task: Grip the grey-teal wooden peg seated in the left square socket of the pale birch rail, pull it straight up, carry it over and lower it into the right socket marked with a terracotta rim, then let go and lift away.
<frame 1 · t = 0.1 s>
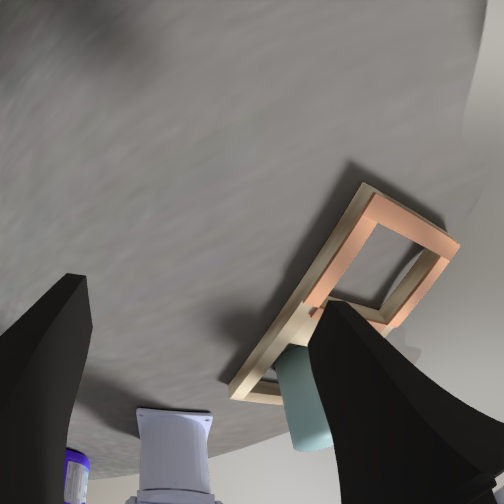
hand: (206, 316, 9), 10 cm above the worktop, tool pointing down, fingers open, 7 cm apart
bottle: (73, 454, 37), on the worktop
socket rail: (334, 319, 25), on the worktop
peg: (299, 361, 27), resting in socket rail
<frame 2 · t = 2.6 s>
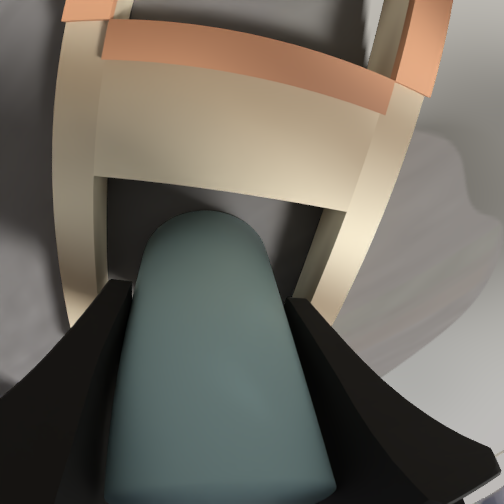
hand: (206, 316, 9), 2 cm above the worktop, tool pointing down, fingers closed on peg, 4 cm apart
socket rail: (236, 108, 8), on the worktop
peg: (205, 267, 11), resting in socket rail, touching gripper
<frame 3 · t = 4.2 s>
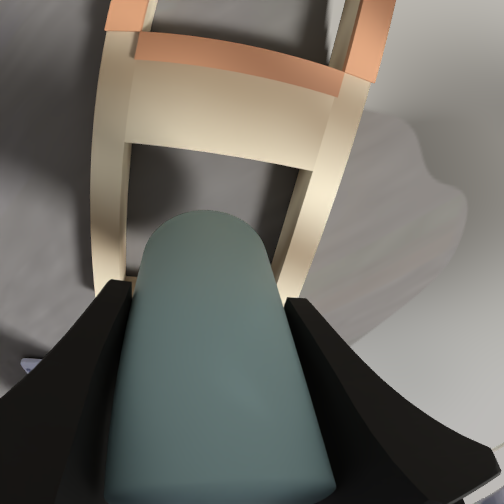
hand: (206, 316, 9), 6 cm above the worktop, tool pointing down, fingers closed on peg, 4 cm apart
socket rail: (229, 96, 11), on the worktop
peg: (204, 267, 11), point 3 cm above the worktop, touching gripper
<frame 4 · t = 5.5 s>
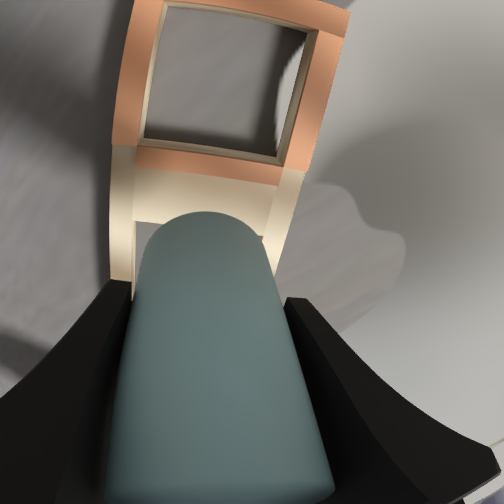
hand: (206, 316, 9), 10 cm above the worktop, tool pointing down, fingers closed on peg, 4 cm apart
socket rail: (204, 181, 17), on the worktop
peg: (204, 268, 11), point 7 cm above the worktop, touching gripper
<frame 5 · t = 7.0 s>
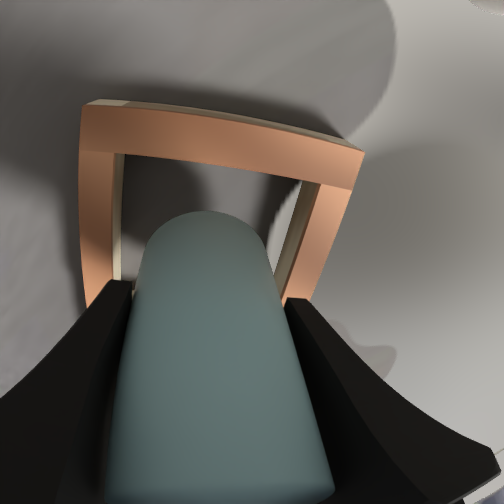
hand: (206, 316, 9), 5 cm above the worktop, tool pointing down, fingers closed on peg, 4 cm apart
socket rail: (189, 326, 16), on the worktop
peg: (204, 268, 11), point 3 cm above the worktop, touching gripper
when the fingers open (3 cm above the worktop, at t = 8.3 s): peg drops 1 cm, resting in socket rail.
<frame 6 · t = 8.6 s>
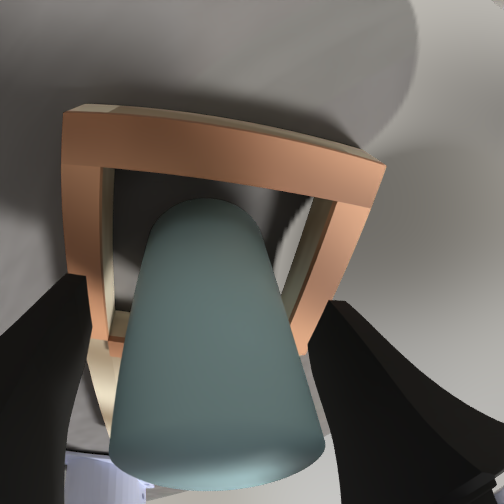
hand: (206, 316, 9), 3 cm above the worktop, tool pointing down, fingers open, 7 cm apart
socket rail: (189, 348, 15), on the worktop
peg: (205, 252, 12), resting in socket rail
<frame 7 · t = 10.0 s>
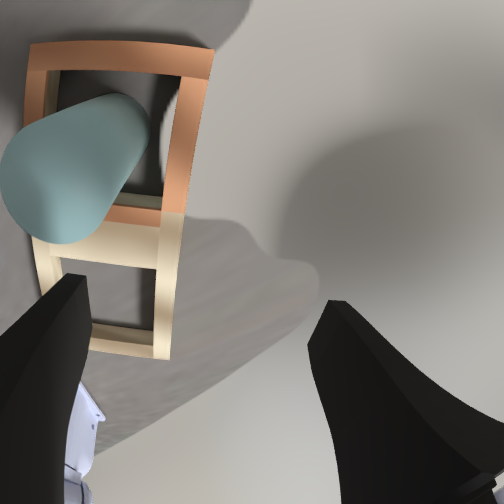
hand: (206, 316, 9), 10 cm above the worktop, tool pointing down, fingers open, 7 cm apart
socket rail: (106, 221, 18), on the worktop
peg: (111, 132, 15), resting in socket rail
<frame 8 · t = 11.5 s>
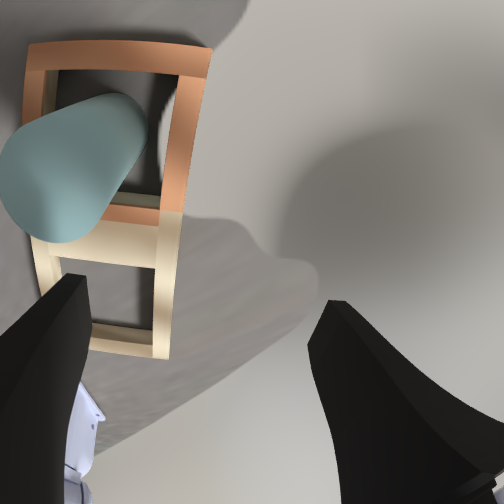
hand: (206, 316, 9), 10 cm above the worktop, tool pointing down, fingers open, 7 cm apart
socket rail: (105, 220, 18), on the worktop
peg: (110, 131, 15), resting in socket rail
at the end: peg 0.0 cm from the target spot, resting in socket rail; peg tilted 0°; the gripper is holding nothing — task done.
